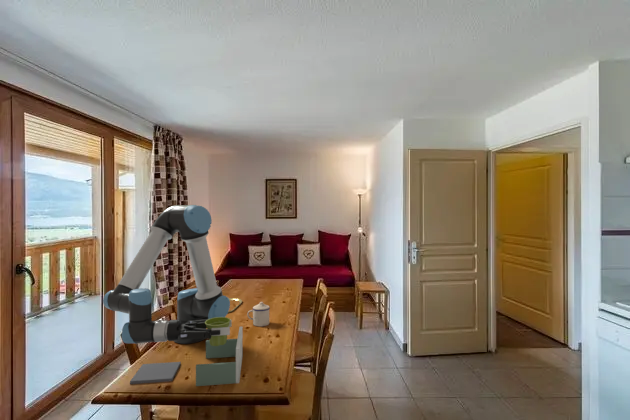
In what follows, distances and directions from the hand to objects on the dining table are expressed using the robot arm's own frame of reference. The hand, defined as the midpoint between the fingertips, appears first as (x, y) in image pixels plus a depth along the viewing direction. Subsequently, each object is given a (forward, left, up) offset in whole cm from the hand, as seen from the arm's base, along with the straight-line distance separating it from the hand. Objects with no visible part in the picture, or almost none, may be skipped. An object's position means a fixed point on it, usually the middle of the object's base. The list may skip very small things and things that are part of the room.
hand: (230, 326), depth 136 cm
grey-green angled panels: (-3, -2, -16) cm, 16 cm away
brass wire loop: (-67, +62, -17) cm, 92 cm away
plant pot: (-4, -3, -6) cm, 8 cm away
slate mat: (-20, -17, -16) cm, 31 cm away
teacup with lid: (-26, +47, -16) cm, 56 cm away
